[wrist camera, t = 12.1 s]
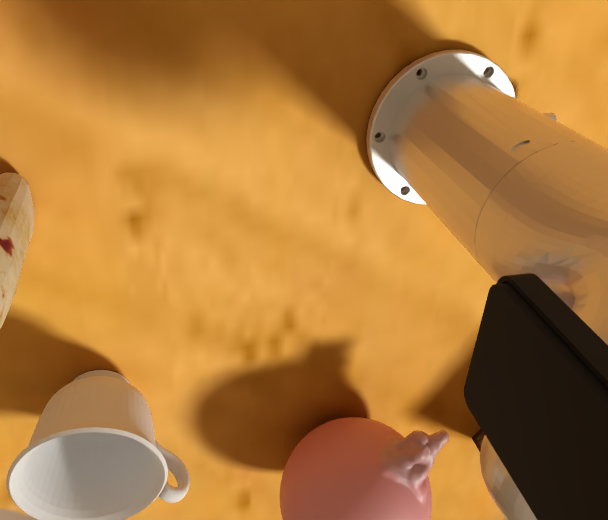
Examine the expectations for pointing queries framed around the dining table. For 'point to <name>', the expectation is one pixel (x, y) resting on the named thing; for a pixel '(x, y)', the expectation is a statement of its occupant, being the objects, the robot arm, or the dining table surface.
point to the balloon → (359, 473)
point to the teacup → (94, 455)
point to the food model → (13, 235)
